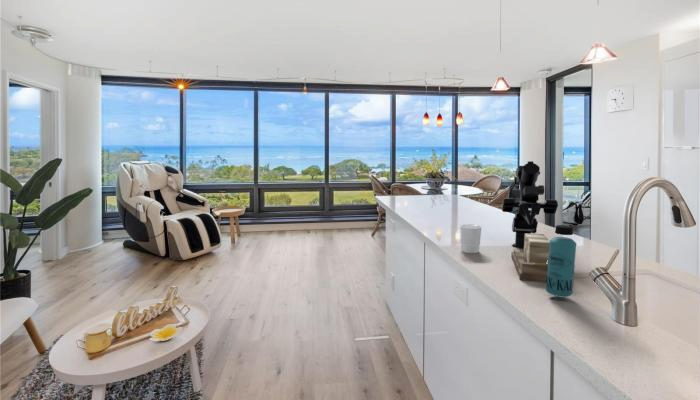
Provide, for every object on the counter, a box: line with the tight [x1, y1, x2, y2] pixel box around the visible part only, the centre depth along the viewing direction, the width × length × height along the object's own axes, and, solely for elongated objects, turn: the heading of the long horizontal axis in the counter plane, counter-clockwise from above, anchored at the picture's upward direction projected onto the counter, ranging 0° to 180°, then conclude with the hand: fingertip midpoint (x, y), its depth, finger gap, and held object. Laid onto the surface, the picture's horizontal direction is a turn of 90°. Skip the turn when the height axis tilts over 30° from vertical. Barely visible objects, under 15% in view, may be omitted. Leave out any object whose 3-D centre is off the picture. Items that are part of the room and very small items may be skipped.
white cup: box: [459, 224, 482, 254], centre depth 149 cm, size 8×8×10 cm
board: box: [510, 248, 548, 283], centre depth 127 cm, size 26×12×5 cm, turn 162°
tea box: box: [522, 233, 550, 263], centre depth 125 cm, size 13×6×9 cm, turn 162°
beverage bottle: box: [545, 224, 577, 298], centre depth 101 cm, size 6×7×20 cm
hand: (530, 224), depth 139 cm, fingers closed
